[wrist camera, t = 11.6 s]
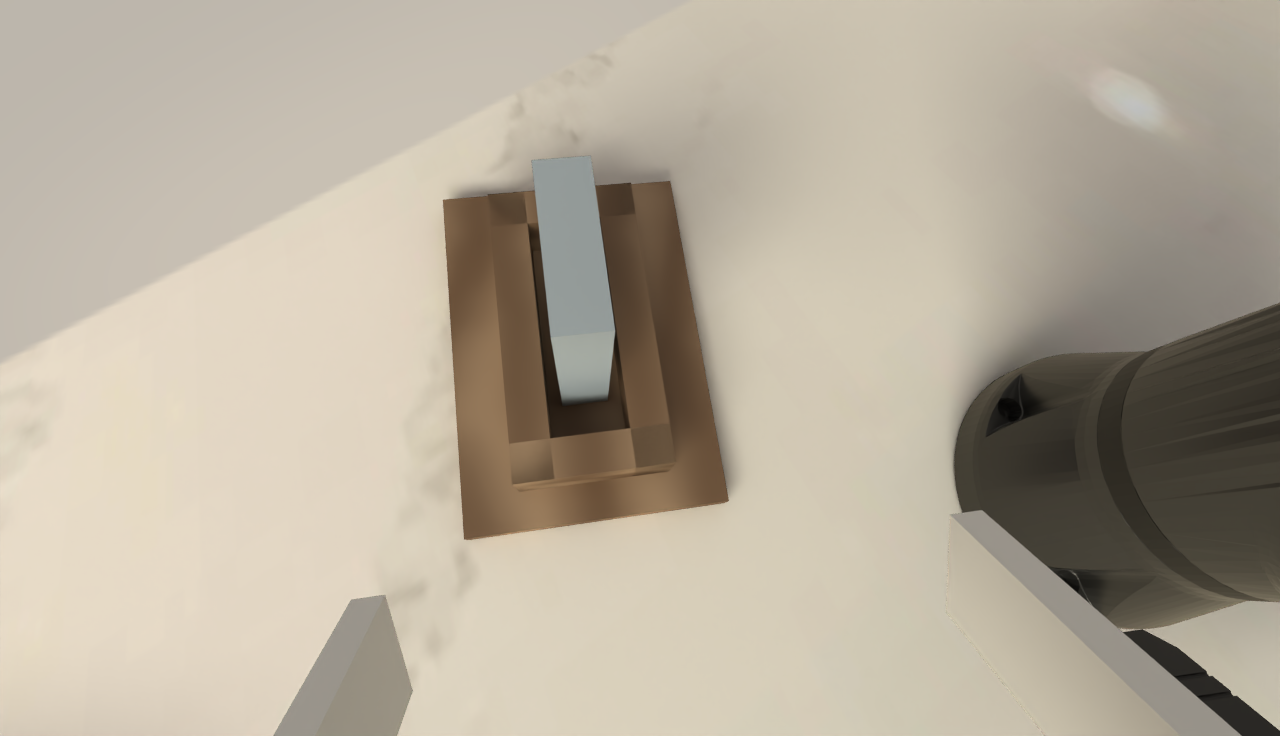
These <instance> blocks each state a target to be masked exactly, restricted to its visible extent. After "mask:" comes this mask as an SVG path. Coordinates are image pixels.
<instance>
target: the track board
mask: <svg viewBox="0 0 1280 736" xmlns="http://www.w3.org/2000/svg"><path fill="white" fill-rule="evenodd" d="M595 190H596V197H597V204H598V211H599V218H600V226H601V233H602V240H603V247H604V254H605V261H606V268H607V276H608V283H609V290H610V297H611V304H612V311H613V318H614V326H615V337H614V346H613V355H612V365H611V374H610V383H609V392H608V401H600V402H592V403H584V404H575V405H567V406H563V405H562V399H561V394H560V388H559V382H558V376H557V371H556V365H555V359H554V353H553V348H552V342H551V335H550V326H549V317H548V307H547V298H546V289H545V280H544V270H543V261H542V252H541V243H540V233H539V224H538V215H537V205H536V196H535V191H526V192H513V193H501V194H489V195H488V196H484V197H471V198H459V199H447V200H443V207H444V224H445V240H446V256H447V272H448V288H449V304H450V320H451V336H452V352H453V368H454V385H455V401H456V417H457V433H458V449H459V465H460V481H461V497H462V513H463V529H464V539H466V540H472V539H479V538H486V537H493V536H500V535H507V534H514V533H520V532H527V531H534V530H541V529H548V528H555V527H562V526H569V525H576V524H583V523H590V522H596V521H603V520H610V519H617V518H624V517H631V516H638V515H645V514H652V513H659V512H665V511H672V510H679V509H686V508H693V507H700V506H707V505H714V504H721V503H725V502H728V501H729V499H728V494H727V488H726V483H725V477H724V472H723V467H722V461H721V456H720V450H719V445H718V439H717V434H716V428H715V423H714V417H713V412H712V407H711V401H710V396H709V390H708V385H707V379H706V374H705V368H704V363H703V358H702V352H701V347H700V341H699V336H698V330H697V325H696V319H695V314H694V308H693V303H692V298H691V292H690V287H689V281H688V276H687V270H686V265H685V259H684V254H683V248H682V243H681V238H680V232H679V227H678V221H677V216H676V210H675V205H674V199H673V194H672V188H671V183H670V181H666V182H654V183H642V184H631V183H623V184H611V185H599V186H595Z"/></svg>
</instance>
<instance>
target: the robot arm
mask: <svg viewBox="0 0 1280 736" xmlns="http://www.w3.org/2000/svg"><path fill="white" fill-rule="evenodd" d="M955 480H956V488H957V493H958V498H959V502H960V505H961V508H962V512H963V513H958V514H951V515H950V524H949V549H948V573H947V598H946V613H947V614H948V616H949V617H950V618H951V619H952V621H953V622H954V623H955V624H956V626H957V627H958V628H959V629H960V631H961V632H962V633H963V634H964V635H965V637H966V638H967V639H968V640H969V642H970V643H971V644H972V645H973V647H974V648H975V649H976V650H977V652H978V653H979V654H980V655H981V657H982V658H983V659H984V660H985V662H986V663H987V664H988V665H989V667H990V668H991V669H992V670H993V672H994V673H995V674H996V675H997V677H998V678H999V679H1000V680H1001V682H1002V683H1003V684H1004V685H1005V687H1006V688H1007V689H1008V690H1009V692H1010V693H1011V694H1012V695H1013V697H1014V698H1015V699H1016V700H1017V702H1018V703H1019V704H1020V705H1021V707H1022V708H1023V709H1024V710H1025V712H1026V713H1027V714H1028V715H1029V717H1030V718H1031V719H1032V720H1033V722H1034V723H1035V724H1036V725H1037V727H1038V728H1039V729H1040V730H1041V732H1042V733H1043V734H1044V735H1045V736H1280V731H1279V730H1278V729H1277V728H1276V727H1274V726H1273V725H1272V724H1271V723H1269V722H1268V721H1267V720H1266V719H1265V718H1263V717H1262V716H1261V715H1260V714H1258V713H1257V712H1256V711H1255V710H1253V709H1252V708H1251V707H1250V706H1249V705H1247V704H1246V703H1245V702H1244V701H1242V700H1241V699H1240V698H1239V697H1237V696H1233V695H1232V694H1231V691H1230V690H1229V689H1228V688H1226V687H1225V686H1224V685H1223V684H1222V683H1220V682H1219V681H1218V680H1217V679H1215V678H1214V677H1213V676H1208V674H1207V671H1206V670H1204V669H1203V668H1202V667H1201V666H1199V665H1198V664H1197V663H1196V662H1194V661H1193V660H1192V659H1191V658H1190V657H1188V656H1187V655H1186V654H1185V653H1183V652H1182V651H1181V650H1180V649H1178V648H1177V647H1175V646H1173V645H1171V644H1169V643H1167V642H1165V641H1164V640H1162V639H1160V638H1158V637H1156V636H1154V635H1152V634H1150V633H1148V632H1146V631H1144V630H1135V631H1129V632H1122V631H1121V630H1119V629H1118V628H1122V629H1150V628H1158V627H1164V626H1169V625H1172V624H1176V623H1179V622H1182V621H1185V620H1188V619H1191V618H1195V617H1198V616H1201V615H1204V614H1207V613H1210V612H1214V611H1217V610H1220V609H1223V608H1226V607H1229V606H1232V605H1236V604H1239V603H1242V602H1245V601H1267V602H1280V303H1278V304H1275V305H1272V306H1270V307H1267V308H1264V309H1261V310H1259V311H1256V312H1253V313H1250V314H1248V315H1245V316H1242V317H1239V318H1237V319H1234V320H1231V321H1229V322H1226V323H1223V324H1220V325H1218V326H1215V327H1212V328H1209V329H1207V330H1204V331H1201V332H1198V333H1196V334H1193V335H1190V336H1187V337H1185V338H1182V339H1179V340H1177V341H1174V342H1172V343H1170V344H1167V345H1164V346H1161V347H1159V348H1156V349H1153V350H1151V351H1148V352H1111V353H1072V354H1062V355H1056V356H1051V357H1047V358H1043V359H1040V360H1037V361H1034V362H1032V363H1030V364H1027V365H1025V366H1023V367H1021V368H1018V369H1016V370H1014V371H1012V372H1010V373H1007V374H1005V375H1004V376H1002V377H1000V378H998V379H997V380H995V381H994V382H993V383H991V384H990V385H989V386H988V387H987V388H986V389H984V390H983V391H982V392H981V393H980V395H979V396H978V397H977V398H976V399H975V401H974V402H973V404H972V405H971V407H970V408H969V410H968V412H967V414H966V416H965V418H964V420H963V422H962V425H961V428H960V431H959V435H958V438H957V444H956V451H955ZM412 691H413V690H412V686H411V683H410V679H409V676H408V673H407V669H406V666H405V662H404V659H403V655H402V652H401V648H400V645H399V641H398V638H397V634H396V631H395V627H394V624H393V620H392V617H391V613H390V610H389V607H388V603H387V600H386V596H385V595H381V596H374V597H367V598H360V599H353V600H351V601H350V603H349V604H348V606H347V608H346V610H345V611H344V613H343V615H342V617H341V618H340V620H339V622H338V624H337V625H336V627H335V629H334V631H333V632H332V634H331V636H330V638H329V639H328V641H327V643H326V645H325V646H324V648H323V650H322V652H321V653H320V655H319V657H318V659H317V660H316V662H315V664H314V666H313V667H312V669H311V671H310V673H309V674H308V676H307V678H306V680H305V681H304V683H303V685H302V687H301V688H300V690H299V692H298V694H297V695H296V697H295V699H294V701H293V702H292V704H291V706H290V708H289V709H288V711H287V713H286V715H285V716H284V718H283V720H282V722H281V723H280V725H279V727H278V729H277V730H276V732H275V734H274V736H397V734H398V731H399V728H400V726H401V723H402V720H403V717H404V714H405V711H406V708H407V706H408V703H409V700H410V697H411V694H412Z"/></svg>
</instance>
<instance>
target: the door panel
mask: <svg viewBox="0 0 1280 736" xmlns="http://www.w3.org/2000/svg"><path fill="white" fill-rule="evenodd" d="M532 168H533V178H534V187H535V196H536V205H537V215H538V224H539V233H540V243H541V252H542V261H543V270H544V280H545V289H546V298H547V307H548V317H549V326H550V335H551V342H552V348H553V353H554V359H555V365H556V371H557V376H558V382H559V388H560V394H561V399H562V405H563V406H567V405H575V404H584V403H592V402H600V401H608V392H609V383H610V374H611V365H612V355H613V346H614V337H615V326H614V318H613V311H612V304H611V297H610V290H609V283H608V276H607V268H606V261H605V254H604V247H603V240H602V233H601V226H600V218H599V211H598V204H597V197H596V190H595V183H594V176H593V168H592V161H591V156H580V157H567V158H553V159H540V160H532Z"/></svg>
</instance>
